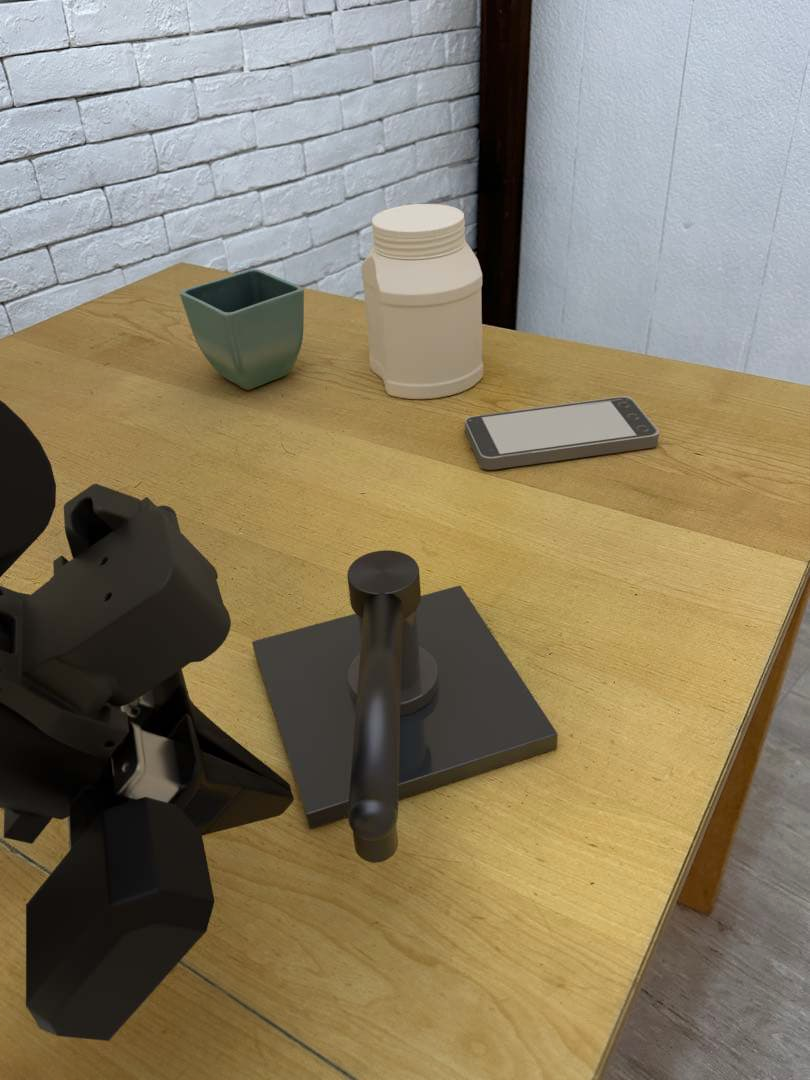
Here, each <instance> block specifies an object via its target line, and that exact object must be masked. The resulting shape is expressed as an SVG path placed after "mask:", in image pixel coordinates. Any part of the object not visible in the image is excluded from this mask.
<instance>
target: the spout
mask: <svg viewBox="0 0 810 1080" xmlns="http://www.w3.org/2000/svg"><path fill="white" fill-rule="evenodd" d="M420 575H421V574H420V567H419V564H418V563H417V561H416V560H415V559H414V558H413V557H412V556H411V555H408V554H406V553H404V552H402V551H398V550H390V549H389V550H388V549H384V550H376V551H371V552H368V553H366V554H363V555H361V556H360V557H358V558H356V559H355V560H354V561H353V562H352V563H351V564H350V566H349V567H348V570H347V575H346V578H347V586H348V595H349V600H350V607H351V609H352V610H353V612H354V614H357V615H358V616H359V617H361V618H363V627H362V640H361V653H360V665H359V678H358V691H357V704H356V717H355V729H354V742H353V755H352V768H351V781H350V793H349V806H348V817H347V821H348V824H349V828H350V829H351V831H352V837H353V845H354V851H355V852H356V854H357V856H358V857H359V858H360V859H362V860H363V861H365V862H367V863H372V864H377V863H383V862H385V861H388V860H389V859H390V858H392V857H393V856H394V855H395V854H396V852H397V849H398V847H399V837H398V828H397V822H398V818H399V817H398V816H399V800H398V782H399V741H400V700H401V659H402V619H404V618H406V617H408V616H410V615H411V614H412V613H414V612H415V611H416V609H417V608H418V606H419V604H420V602H421V596H422V591H421V577H420Z"/></svg>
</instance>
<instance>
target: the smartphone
mask: <svg viewBox="0 0 810 1080" xmlns="http://www.w3.org/2000/svg"><path fill="white" fill-rule="evenodd" d="M464 433H465V435H466V438H467V440H468V442H469V444H470V446H471V449H472V451H473V454H474V456H475V458H476V460H477V462H478V464H479V466H480V468H482V469H484V470H488V471H494V470H500V469H509V468H515V467H523V466H530V465H537V464H545V463H551V462H557V461H558V462H559V461H565V460H573V459H580V458H589V457H594V456H601V455H610V454H616V453H623V452H630V451H631V452H632V451H636V450H637V451H639V450H643V449H651V448H655V447H657V445H658V443H659V435H660V430H659V429H658V427H657V426H656V425H655V424H654V423H653V422H652V420H651V419H650V418H649V416H647V414H646V413H645V412H644V411H643V409H642V408H641V407H640V406H639V405H638V403H637V402H636V401H635V399H634V398H632V397H630V396H625V395H623V396H613V397H606V398H598V399H597V398H596V399H591V400H584V401H575V402H568V403H562V404H561V403H560V404H553V405H545V406H539V407H538V406H537V407H530V408H523V409H515V410H507V411H501V412H500V411H499V412H493V413H486V414H485V413H484V414H478V415H471V416H468V417H466V418H465V419H464Z"/></svg>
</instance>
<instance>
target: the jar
mask: <svg viewBox="0 0 810 1080" xmlns="http://www.w3.org/2000/svg"><path fill="white" fill-rule="evenodd" d="M465 225H466V222H465V214H464V212H463V211H462V210H461V209H459V208H457V207H454V206H451V205H446V204H440V203H439V204H438V203H415V204H414V203H413V204H406V205H400V206H399V205H398V206H395V207H394V206H393V207H390V208H387V209H385V210H382V211H380V212H378V213H376V214H375V215H374V216H372V218H371V228H372V229H371V230H372V231H371V233H372V241H373V242H372V248H371V249H370V251H369V252H368V254H367V256H366V257H365V258H364V260H363V262H362V263H361V264H362V265H361V268H360V271H361V279H362V284H363V294H364V295H363V296H364V307H365V316H366V317H365V318H366V326H367V327H366V328H367V329H366V330H367V340H368V341H367V342H368V351H369V354H368V359H369V360H368V361H369V368H370V370H371V371H372V373H374V374H375V375H377V376H378V377H379V378H380V379H381V380H382V381H383V383H384V390H385V392H386V393H387V395H388V396H391V397H395V398H400V399H408V400H431V399H441V398H445V397H451V396H454V395H457V394H460V393H462V392H466V391H467V390H469V389H471V388H473V387H474V386H476V385H477V384H478V383H479V382H480V381H481V380H482V378H483V377H484V362H483V315H482V314H483V312H482V310H483V309H482V307H483V306H482V302H483V301H482V287H483V271H482V269H481V265H480V262H479V259H478V258H477V256H476V254H475V253H474V251H473V250H472V248H471V247H470V245H469V244H468V243H467V240H466V233H465V232H466V227H465Z"/></svg>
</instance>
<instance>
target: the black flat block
mask: <svg viewBox="0 0 810 1080" xmlns="http://www.w3.org/2000/svg"><path fill="white" fill-rule="evenodd" d="M362 627H363V618H361V617H359V616H358V615H357V614H356V613H352V614H348V615H345V616H341V617H338V618H333V619H330V620H326V621H323V622H319V623H315V624H312V625H308V626H304V627H301V628H297V629H293V630H289V631H286V632H283V633H278V634H275V635H272V636H267V637H264V638H260V639H256V640H253V641H252V642H251V643H252V644H251V645H252V649H253V653H254V657H255V660H256V664H257V666H258V670H259V673H260V677H261V680H262V683H263V685H264V689H265V692H266V695H267V698H268V701H269V705H270V708H271V711H272V715H273V718H274V720H275V724H276V727H277V730H278V734H279V736H280V740H281V743H282V746H283V750H284V752H285V756H286V759H287V761H288V765H289V768H290V772H291V774H292V775H291V776H292V778H293V782H294V784H295V788H296V791H297V794H298V797H299V801H300V803H301V808H302V810H303V814H304V816H305V818H306V819H305V821H306V823H307V826H308V829H314V828H317V827H320V826H323V825H327V824H329V823H332V822H335V821H338V820H342V819H345V818H348V806H349V793H350V781H351V768H352V755H353V742H354V729H355V717H356V704H357V691H358V678H359V665H360V653H361V640H362ZM491 631H492V630H491V629H490V628H489V627H488V625H487V624H486V622H485V621H484V619H483V618H482V616H481V614H480V613H479V611H478V610H477V608H476V606H475V605H474V603H473V602H472V601H471V599H470V598H469V596H468V594H467V593H466V592H465V590H464V588H463V586H462V585H455V586H453V587H449V588H445V589H442V590H437V591H434V592H430V593H427V594H424V595H423V594H421V602H420V604H419V606H418V608H417V609H416V611H415V612H414V613H412V614H411V615H410V616H408V617H406V618H404V619H402V659H401V700H400V741H399V782H398V801H400V800H403V799H406V798H409V797H412V796H416V795H418V794H421V793H425V792H429V791H430V790H434V789H437V788H439V787H443V786H447V785H449V784H452V783H455V782H458V781H461V780H464V779H467V778H471V777H473V776H476V775H480V774H483V773H486V772H489V771H493V770H495V769H499V768H502V767H505V766H508V765H511V764H514V763H517V762H520V761H523V760H526V759H530V758H533V757H535V756H539V755H542V754H545V753H548V752H551V751H554V750H556V749H558V739H559V738H558V737H559V734H558V732H557V731H556V729H555V727H554V726H553V725H552V722H551V721H550V720H549V718H548V717H547V715H546V714H545V712H544V711H543V709H542V707H541V706H540V705H539V703H538V702H537V699H535V696H533V694H532V692H531V691H530V690H529V689H530V688H528V686H527V685H526V683H525V681H524V680H523V678H522V677H521V675H520V674H519V672H518V671H517V670H516V668H515V666H514V665H513V663H512V661H511V660H510V659H509V657H508V656H507V655H506V653H505V651H504V649H503V648H502V647H501V645H500V643H499V642H498V640H497V638H495V636H494V634H493V633H492V632H491Z"/></svg>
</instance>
